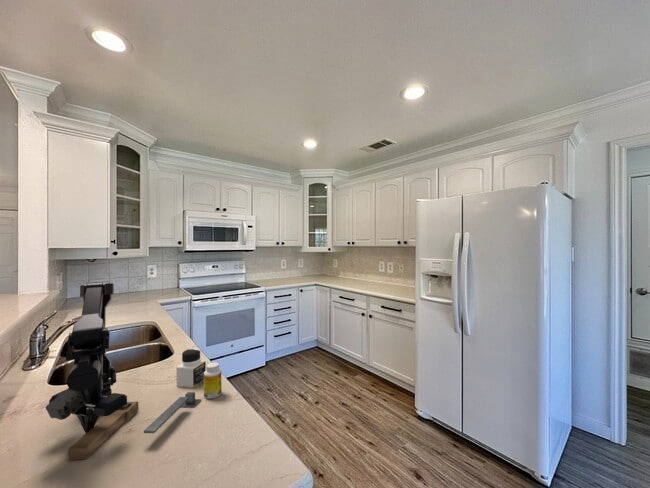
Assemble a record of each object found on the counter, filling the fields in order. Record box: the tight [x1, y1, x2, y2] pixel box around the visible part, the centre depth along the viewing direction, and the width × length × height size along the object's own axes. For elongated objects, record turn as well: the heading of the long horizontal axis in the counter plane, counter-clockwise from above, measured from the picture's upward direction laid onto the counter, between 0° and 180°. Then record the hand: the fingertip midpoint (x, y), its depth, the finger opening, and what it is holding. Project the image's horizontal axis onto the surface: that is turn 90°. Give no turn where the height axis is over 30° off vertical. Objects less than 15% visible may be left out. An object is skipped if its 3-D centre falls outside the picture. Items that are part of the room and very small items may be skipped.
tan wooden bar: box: [67, 401, 139, 461], centre depth 76 cm, size 20×5×3 cm, turn 4°
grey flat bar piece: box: [143, 391, 202, 434], centre depth 81 cm, size 5×21×4 cm, turn 176°
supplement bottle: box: [203, 362, 223, 400], centre depth 95 cm, size 6×6×10 cm
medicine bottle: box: [176, 347, 207, 389], centre depth 103 cm, size 7×7×12 cm
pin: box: [120, 401, 129, 410], centre depth 83 cm, size 3×3×4 cm
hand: (88, 433), depth 74 cm, fingers closed
